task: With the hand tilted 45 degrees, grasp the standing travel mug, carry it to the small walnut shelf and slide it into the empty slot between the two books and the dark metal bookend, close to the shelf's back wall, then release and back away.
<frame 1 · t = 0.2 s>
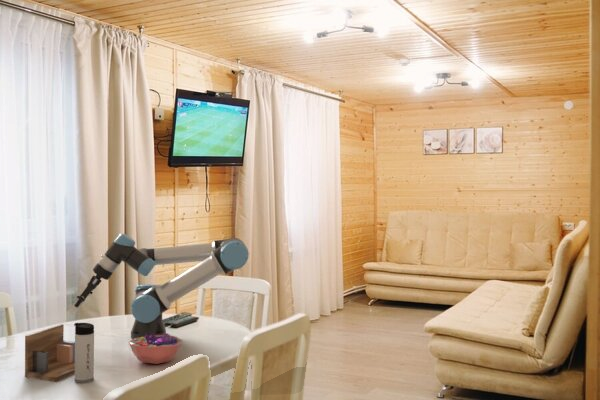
hand: (74, 308, 254), 16 cm above the table, tool tilted 35°, fingers open, 13 cm apart
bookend: (38, 362, 216), point 5 cm above the table
candy bowl: (155, 362, 236), on the table
shelf: (60, 371, 222), on the table
books: (66, 351, 230), point 5 cm above the table
travel mug: (83, 380, 214), on the table
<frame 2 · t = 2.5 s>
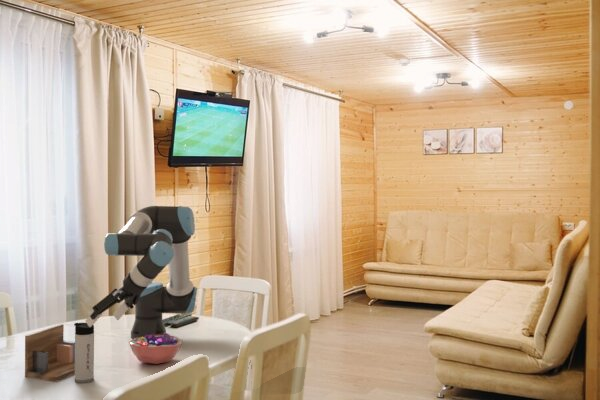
hand: (102, 320, 211), 22 cm above the table, tool tilted 45°, fingers open, 13 cm apart
nothing on the table moved.
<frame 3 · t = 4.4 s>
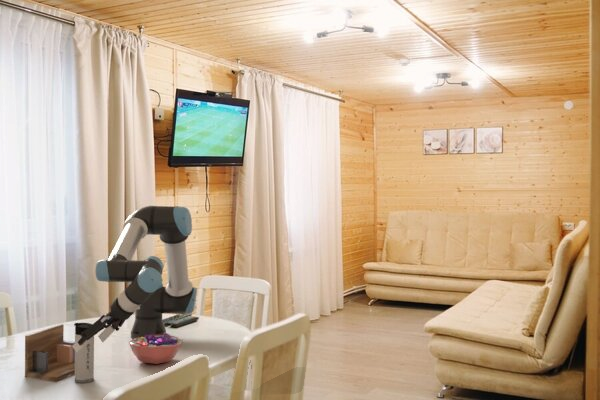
hand: (88, 344, 212), 13 cm above the table, tool tilted 45°, fingers open, 13 cm apart
nothing on the table moved.
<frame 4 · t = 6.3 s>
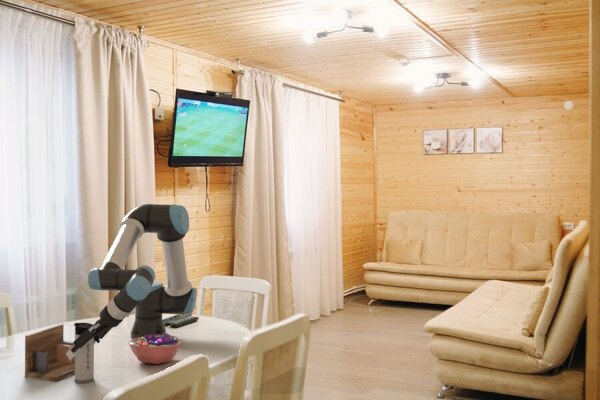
hand: (75, 353, 215), 9 cm above the table, tool tilted 45°, fingers closed on travel mug, 6 cm apart
travel mug: (83, 380, 214), on the table, touching gripper
everything else where it was.
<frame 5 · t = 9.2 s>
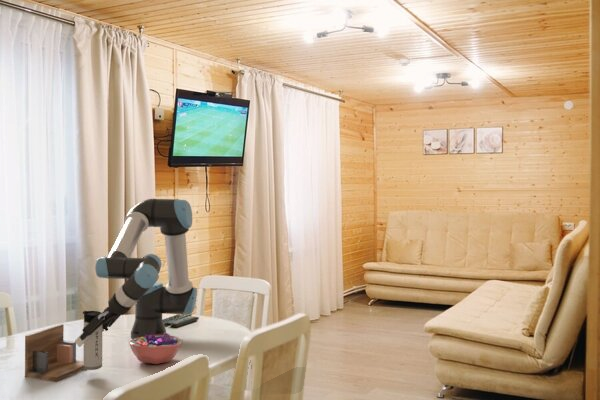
hand: (84, 341, 218), 12 cm above the table, tool tilted 45°, fingers closed on travel mug, 6 cm apart
travel mug: (92, 367, 218), point 3 cm above the table, touching gripper
everything else where it was.
when the fingers open (11 cm above the table, at t = 12.4 s): travel mug stays where it is, resting on shelf.
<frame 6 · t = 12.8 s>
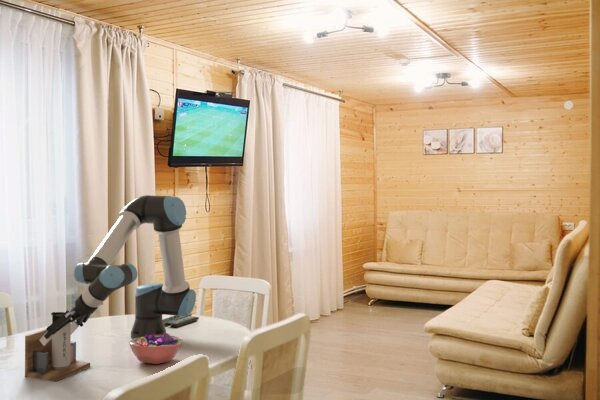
hand: (54, 338, 223), 12 cm above the table, tool tilted 45°, fingers open, 11 cm apart
travel mug: (60, 368, 222), point 1 cm above the table, touching shelf
everything else where it was.
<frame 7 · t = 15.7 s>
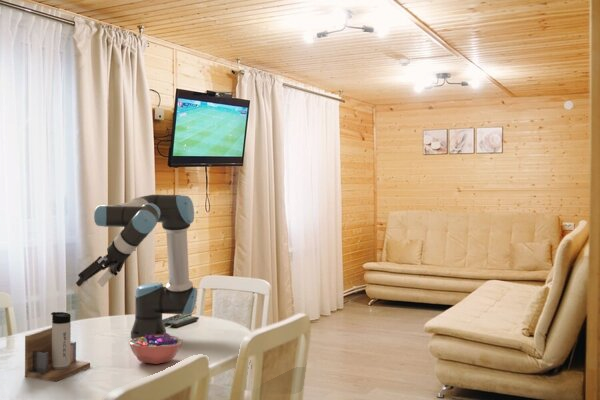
hand: (87, 287, 218), 32 cm above the table, tool tilted 45°, fingers open, 13 cm apart
nothing on the table moved.
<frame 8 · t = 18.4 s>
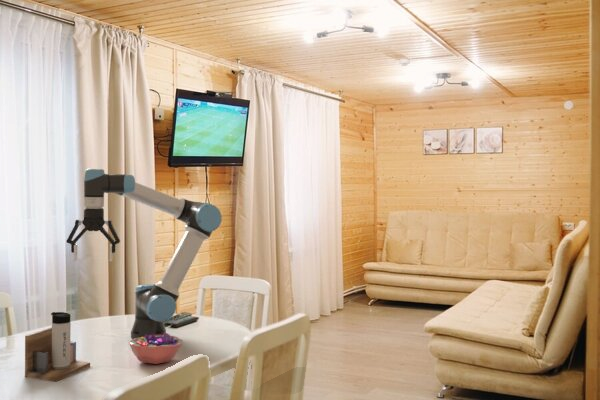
hand: (93, 261, 245), 37 cm above the table, tool pointing down, fingers open, 13 cm apart
nothing on the table moved.
at the end: travel mug inside the target area on the shelf (0.1 cm from its centre), point 1.3 cm above the shelf's base; travel mug tilted 0°; the gripper is holding nothing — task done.
